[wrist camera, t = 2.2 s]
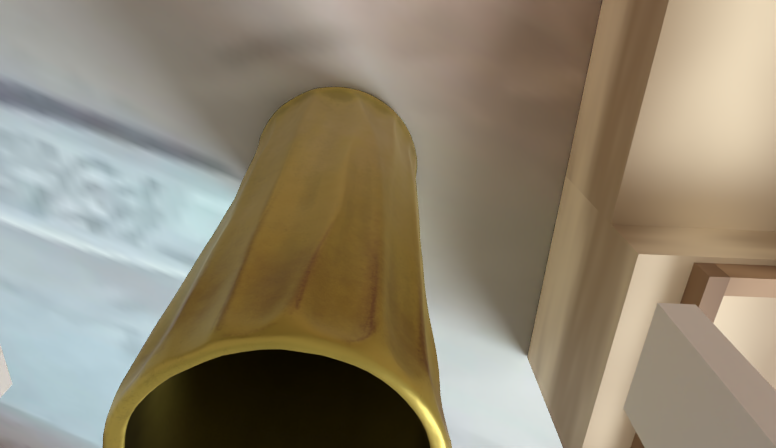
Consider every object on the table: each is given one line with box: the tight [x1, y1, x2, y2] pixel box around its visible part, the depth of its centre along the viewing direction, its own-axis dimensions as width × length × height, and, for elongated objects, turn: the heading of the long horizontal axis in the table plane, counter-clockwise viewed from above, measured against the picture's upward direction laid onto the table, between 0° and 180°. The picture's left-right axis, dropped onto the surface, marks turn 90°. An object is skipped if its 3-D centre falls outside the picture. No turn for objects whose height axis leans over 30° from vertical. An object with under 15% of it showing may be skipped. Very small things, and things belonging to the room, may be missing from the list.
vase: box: [103, 87, 452, 448], centre depth 14 cm, size 6×6×14 cm
